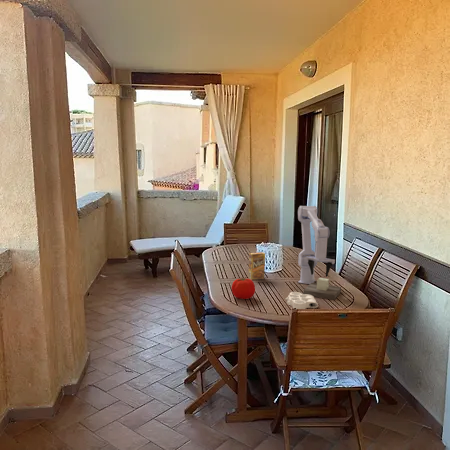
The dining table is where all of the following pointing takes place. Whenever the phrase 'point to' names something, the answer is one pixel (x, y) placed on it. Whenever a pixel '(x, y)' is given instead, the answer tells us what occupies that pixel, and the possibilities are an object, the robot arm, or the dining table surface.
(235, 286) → the tomato
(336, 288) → the taupe base
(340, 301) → the dining table surface
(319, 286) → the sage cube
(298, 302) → the white brass knuckles
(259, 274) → the candy box
